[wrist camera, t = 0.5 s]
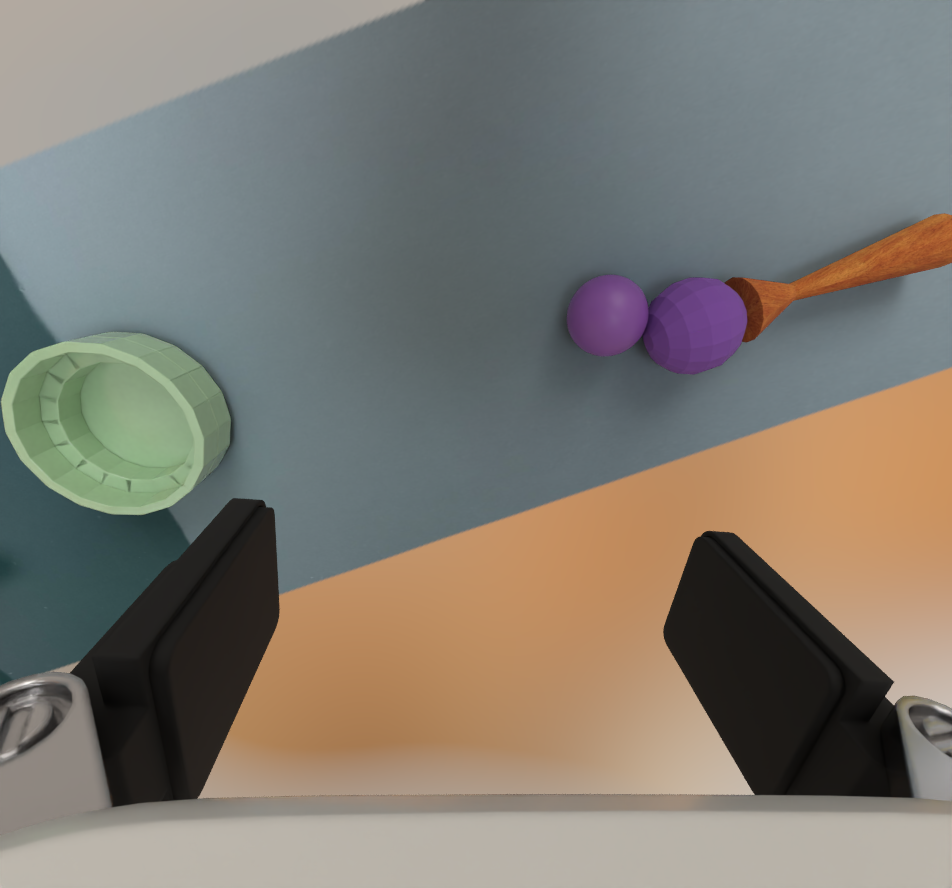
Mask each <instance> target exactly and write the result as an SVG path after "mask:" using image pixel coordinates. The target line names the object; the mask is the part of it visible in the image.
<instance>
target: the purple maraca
mask: <svg viewBox="0 0 952 888" xmlns="http://www.w3.org/2000/svg"><path fill="white" fill-rule="evenodd" d="M950 263H952V215H948V214H937V215H933V216H931V217H928V218H926V219H924V220H922V221H920V222H918V223H916V224H914V225H912V226H910V227H907V228H905V229H903V230H901V231H899V232H897V233H895V234H893V235H891V236H889V237H887V238H884V239H882V240H880V241H878V242H876V243H874V244H872V245H870V246H868V247H866V248H863V249H861V250H859V251H857V252H855V253H853V254H851V255H849V256H847V257H845V258H842V259H840V260H838V261H836V262H834V263H832V264H830V265H828V266H826V267H824V268H822V269H819V270H817V271H815V272H813V273H811V274H809V275H807V276H805V277H803V278H801V279H798V280H796V281H794V282H792V283H790V284H785V283H777V282H770V281H763V280H756V279H748V278H735V277H732V278H731V279H729V280H728V281H726V282H725V283H723V282H721V281H720V280H718V279H710V278H687V279H684V280H682V281H679V282H676V283H673V284H671V285H670V286H669V287H668V288H666V289H665V290H664V291H663V292H662V293H661V294H660V295H658V296H657V297H656V298H655V299H654V300H653V301H652V302H651V304H650V306H649V308H648V310H649V315H648V321H647V325H646V328H645V330H644V332H643V334H642V335H643V341H644V344H645V347H646V350H647V352H648V353H649V355H650V357H651V358H652V359H653V360H654V361H655V362H656V363H657V364H659V365H660V366H662V367H664V368H666V369H667V370H669V371H672V372H675V373H680V374H697V373H700V372H703V371H706V370H709V369H711V368H714V367H717V366H720V365H722V364H723V363H724V362H725V361H726V360H727V359H728V358H729V357H730V356H732V355H733V354H734V353H735V351H736V350H737V349H738V347H739V346H740V345H741V342H749V341H751V340H754V339H755V338H756V337H757V336H758V335H759V334H760V333H761V332H762V331H763V330H764V329H765V328H766V327H767V326H768V325H769V324H770V323H771V322H772V321H773V320H774V319H775V318H776V317H777V316H778V315H779V314H780V313H781V312H782V311H783V310H784V309H785V308H786V307H787V306H788V305H789V304H790V303H791V302H792V301H794V300H798V299H803V298H807V297H812V296H816V295H820V294H825V293H829V292H833V291H838V290H842V289H847V288H851V287H855V286H860V285H864V284H868V283H873V282H877V281H882V280H886V279H890V278H895V277H899V276H903V275H908V274H912V273H917V272H921V271H925V270H930V269H934V268H938V267H942V266H945V265H947V264H950Z"/></svg>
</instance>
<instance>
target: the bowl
mask: <svg viewBox="0 0 952 888" xmlns="http://www.w3.org/2000/svg"><path fill="white" fill-rule="evenodd" d="M1 406H2V413H3V420H4V427H5V431H6V434H7V436H8V438H9V440H10V441H11V443H12V445H13V447H14V449H15V450H16V452H17V454H18V456H19V458H20V460H21V461H22V462H23V463H24V464H25V465H26V466H27V467H28V468H29V469H30V470H31V471H32V472H33V473H34V474H35V475H36V476H37V477H38V478H39V479H40V480H41V481H42V482H43V483H44V484H45V485H46V486H48V487H49V488H51V489H53V490H54V491H56V492H58V493H59V494H61V495H63V496H65V497H66V498H68V499H70V500H71V501H73V502H75V503H77V504H78V505H81V506H85V507H88V508H92V509H95V510H98V511H102V512H105V513H109V514H126V515H143V514H147V513H151V512H154V511H157V510H161V509H164V508H168V507H170V506H172V505H174V504H175V503H176V502H178V501H179V500H180V499H181V498H183V497H184V496H185V495H186V494H188V493H189V492H190V491H192V490H193V489H194V488H195V487H196V486H197V485H198V484H199V483H200V482H201V481H202V480H203V479H205V477H207V476H208V475H209V474H210V473H211V472H212V471H213V470H214V469H215V468H216V467H217V466H218V465H219V464H220V462H221V460H222V458H223V456H224V454H225V452H226V451H227V449H228V447H229V445H230V427H231V417H230V414H229V411H228V408H227V405H226V402H225V399H224V396H223V393H222V392H221V390H220V389H219V387H218V386H217V385H216V383H215V382H214V381H213V379H212V378H211V377H210V375H209V374H208V373H207V371H206V370H205V369H204V367H202V365H201V364H199V363H198V362H197V361H195V360H194V359H193V358H191V357H190V356H189V355H187V354H186V353H184V352H183V351H182V350H180V349H179V348H178V347H176V346H174V345H172V344H169V343H167V342H164V341H161V340H159V339H156V338H153V337H151V336H148V335H146V334H142V333H127V332H106V333H101V334H97V335H92V336H88V337H83V338H79V339H74V340H70V341H65V342H61V343H58V344H55V345H52V346H49V347H45V348H42V349H39V350H36V351H33V352H31V353H30V354H29V355H28V356H27V357H26V358H25V359H24V360H23V361H22V362H21V363H20V364H19V365H18V366H16V367H15V368H14V369H13V370H12V371H11V372H10V374H9V377H8V380H7V383H6V386H5V389H4V392H3V396H2V399H1Z"/></svg>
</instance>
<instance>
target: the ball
mask: <svg viewBox="0 0 952 888" xmlns="http://www.w3.org/2000/svg"><path fill="white" fill-rule="evenodd" d="M648 315H649V310H648V303H647V300H646V297H645V295H644V293H643V292H642V290H641V289H640V288H639V286H638V285H636V284H635V283H634V282H633V281H631V280H630V279H628V278H625V277H622V276H619V275H603V276H599V277H596V278H593V279H591V280H590V281H588V282H586V283H585V284H584V285H582V286H581V287H580V288H579V289H578V290H577V292H576V293H575V294H574V296H573V298H572V299H571V302H570V304H569V307H568V311H567V326H568V330H569V333H570V335H571V337H572V339H573V340H574V342H575V343H576V344H577V345H578V346H579V347H580V348H581V349H583V350H584V351H586V352H588V353H590V354H593V355H597V356H613V355H617V354H620V353H622V352H624V351H626V350H628V349H629V348H631V347H632V346H633V345H634V344H635V343H636V342H637V341H638V340H639V339H640V337H641V336H642V334H643V332H644V330H645V328H646V325H647V321H648Z"/></svg>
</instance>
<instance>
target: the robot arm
mask: <svg viewBox="0 0 952 888" xmlns="http://www.w3.org/2000/svg"><path fill="white" fill-rule="evenodd" d="M278 618H279V590H278V571H277V552H276V532H275V514H274V510H273V508H268V507H266V505H265V502H264V501H263V500H253V499H238V498H233V499H232V500H230V501H229V502H228V504H227V505H226V506H225V507H224V508H223V509H222V510H221V511H220V513H219V514H218V515H217V516H216V517H215V518H214V519H213V520H212V522H211V523H210V524H209V525H208V526H207V527H206V528H205V529H204V531H203V532H202V533H201V534H200V535H199V536H198V537H197V538H196V540H195V541H194V542H193V543H192V544H191V545H190V546H189V547H188V549H187V550H186V551H185V552H184V553H183V554H182V555H181V557H180V558H179V559H178V560H176V561H173V562H171V563H170V564H169V565H168V566H166V567H165V568H164V570H163V571H162V572H161V573H160V574H159V575H158V576H157V577H156V578H155V579H154V581H153V582H152V583H151V584H150V585H149V586H148V587H147V588H146V589H145V591H144V592H143V593H142V594H141V595H140V596H139V597H138V598H137V599H136V600H135V602H134V603H133V604H132V605H131V606H130V607H129V608H128V609H127V610H126V612H125V613H124V614H123V615H122V616H121V617H120V618H119V619H118V620H117V621H116V623H115V624H114V625H113V626H112V627H111V628H110V629H109V630H108V631H107V633H106V634H105V635H104V636H103V637H102V638H101V639H100V640H99V641H98V642H97V644H96V645H95V646H94V647H93V648H92V649H91V650H90V651H89V652H88V654H87V655H86V656H85V657H84V658H83V659H82V660H81V661H80V662H79V663H78V665H77V666H76V667H75V668H74V669H73V670H72V671H71V672H70V673H61V672H48V673H41V674H33V675H30V676H27V677H23V678H20V679H17V680H13V681H10V682H8V683H6V684H3V685H1V686H0V888H952V709H951V708H949V707H947V706H946V705H943V704H941V703H938V702H935V701H933V700H930V699H927V698H922V697H917V696H903V697H902V698H900V699H899V700H898V701H897V702H896V703H895V705H893V704H892V703H891V702H890V701H889V700H888V699H887V698H886V697H885V695H886V694H887V692H888V691H889V689H890V688H891V686H892V684H893V683H894V682H893V680H891V679H890V678H889V677H888V676H887V675H886V674H885V673H884V672H883V671H882V670H881V669H880V668H879V667H877V666H876V665H875V664H874V663H873V662H872V661H871V660H870V659H869V658H868V657H867V656H866V655H865V654H864V653H862V652H861V651H860V650H859V649H858V648H857V647H856V646H855V645H854V644H853V643H852V642H851V641H849V639H847V638H846V637H845V636H844V635H843V634H842V633H841V632H840V631H839V630H838V629H837V628H836V627H835V626H834V625H832V624H831V623H830V622H829V621H828V620H827V619H826V618H825V617H824V616H823V615H822V614H821V613H820V612H818V611H817V610H816V609H815V608H814V607H813V606H812V605H811V604H810V603H809V602H808V601H807V600H806V599H804V598H803V597H802V596H801V595H800V594H799V593H798V592H797V591H796V590H795V589H794V588H793V587H792V586H790V585H789V584H788V583H787V582H786V581H785V580H784V579H783V578H782V577H781V576H780V575H779V574H778V573H777V572H776V571H774V570H773V569H772V568H771V567H770V566H769V565H768V564H767V563H766V562H765V561H764V560H763V559H762V558H761V557H759V556H758V555H757V554H756V553H755V552H754V551H753V550H752V549H751V548H750V547H749V546H748V545H746V544H745V543H744V542H743V541H742V540H741V539H740V538H739V537H738V536H737V535H735V534H734V533H729V532H716V531H706V532H704V533H703V534H702V535H701V537H698V538H696V539H695V541H694V543H693V546H692V549H691V552H690V554H689V557H688V560H687V563H686V566H685V568H684V571H683V574H682V577H681V580H680V583H679V585H678V588H677V591H676V594H675V597H674V600H673V602H672V605H671V608H670V611H669V614H668V616H667V619H666V622H665V625H664V631H663V633H664V639H665V642H666V644H667V646H668V648H669V649H670V651H671V653H672V655H673V656H674V658H675V660H676V661H677V663H678V665H679V666H680V668H681V670H682V672H683V673H684V675H685V677H686V678H687V680H688V682H689V684H690V685H691V687H692V689H693V691H694V692H695V694H696V696H697V697H698V699H699V701H700V703H701V704H702V706H703V708H704V709H705V711H706V713H707V715H708V716H709V718H710V720H711V721H712V723H713V725H714V726H715V728H716V730H717V731H718V733H719V735H720V737H721V738H722V740H723V742H724V744H725V745H726V747H727V749H728V750H729V752H730V754H731V756H732V757H733V759H734V760H735V762H736V764H737V766H738V767H739V769H740V771H741V772H742V774H743V776H744V778H745V780H746V781H747V783H748V785H749V786H750V788H751V790H752V791H753V793H754V794H755V795H631V794H629V795H628V794H622V795H621V794H617V795H615V794H614V795H613V794H612V795H610V794H609V795H608V794H607V795H603V794H594V795H590V794H586V795H585V794H567V795H566V794H558V795H557V794H545V795H543V794H534V795H533V794H529V795H528V794H527V795H526V794H523V795H522V794H516V795H515V794H513V795H512V794H510V795H508V794H505V795H504V794H503V795H501V794H500V795H497V794H492V795H490V794H488V795H321V796H281V797H238V798H203V799H197V798H198V796H199V795H200V793H201V791H202V789H203V787H204V785H205V783H206V781H207V779H208V776H209V774H210V772H211V769H212V768H213V765H214V763H215V761H216V759H217V757H218V754H219V752H220V750H221V748H222V746H223V743H224V741H225V739H226V737H227V735H228V732H229V730H230V728H231V725H232V724H233V721H234V719H235V717H236V715H237V713H238V710H239V708H240V706H241V704H242V702H243V699H244V697H245V695H246V693H247V690H248V688H249V686H250V684H251V682H252V680H253V677H254V675H255V673H256V671H257V669H258V666H259V664H260V662H261V660H262V657H263V655H264V653H265V651H266V649H267V646H268V644H269V642H270V639H271V638H272V635H273V633H274V631H275V629H276V626H277V623H278Z"/></svg>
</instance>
